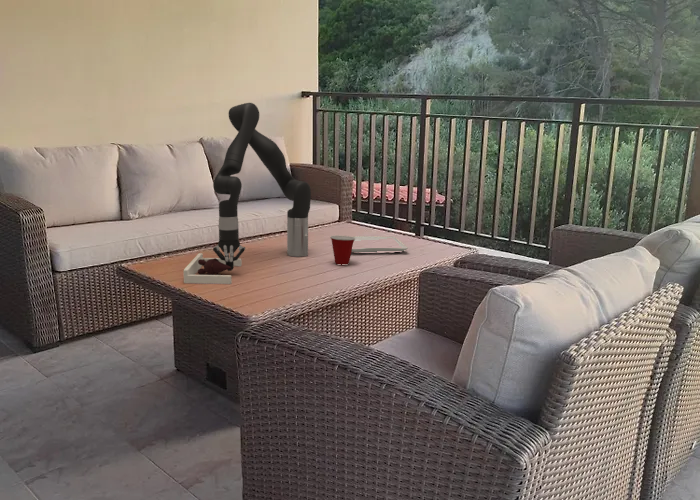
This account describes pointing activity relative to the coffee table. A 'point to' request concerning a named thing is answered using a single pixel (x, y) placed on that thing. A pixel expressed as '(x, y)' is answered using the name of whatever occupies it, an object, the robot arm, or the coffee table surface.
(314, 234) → the coffee table surface
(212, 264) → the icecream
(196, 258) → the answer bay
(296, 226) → the robot arm
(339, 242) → the plastic cup
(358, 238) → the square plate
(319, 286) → the coffee table surface
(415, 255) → the coffee table surface
